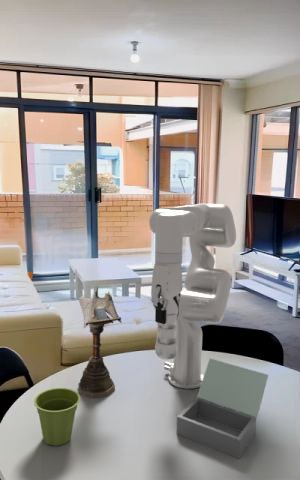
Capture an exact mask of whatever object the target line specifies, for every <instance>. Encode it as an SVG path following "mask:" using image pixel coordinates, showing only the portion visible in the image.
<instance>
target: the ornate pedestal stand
mask: <svg viewBox="0 0 300 480" xmlns="http://www.w3.org/2000/svg"><path fill="white" fill-rule="evenodd" d="M78 302H79V305H80V309H81V313H82V315H83V329H85V328H87V326H88V327H89V333H91V334H92V344H91V346H92V355H91V357H89V358H88V363H87V365H86V367H85V368H84V370H83V371H82V376H81V378H80V381H79V382H78V390H79V393H80V394H79V395H82V396H85V397H88V398H90V399H96V398H103V397H108V396H109V395H111V394H112V393H113V392H114V391H115V390H116V384H115V383H114V381H113V379H112V378H111V375H110V372H109V369H108V368H107V366H106V364H105V362H104V357H103V356H102V355H101V349H100V348H101V346H102V344H101V335H102V333H103V332H104V326H105V325H110V324H113V323H114V322H116V321H118V322H119V323H121V324H122V317H120V316H119V315H118V313H117V310H116V306H115V304H114V300H113V297H112V294H111V293H110V291H108V293H107V292H105V293H104V296H103V297H100V296H99V286H98V284H96V285H95V286H93V293H92V297H91V298H87V297H86V295H80V296H79V297H78Z"/></svg>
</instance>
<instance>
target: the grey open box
mask: <svg viewBox="0 0 300 480" xmlns="http://www.w3.org/2000/svg"><path fill="white" fill-rule="evenodd" d="M198 417H200V418H203V419H206V420H208V421H212V422H214V423H217V424H219V425H222V426H224V427H228V428H230V429H233V430H235V431H238V432H240V433H239V434H238V436H236V435H233V434H231V433H228V432H225V431H223V430H220V429H217V428H215V427H212V426H209V425H207V424H204V423H201V422H198V421H196V419H197V418H198ZM256 425H257V418H256V417H253V416H250V415H247V414H244V413H241V412H238V411H235V410H232V409H230V408H227V407H224V406H221V405H218V404H215V403H212V402H209V401H206V400H203V399H200V398H198V397H196V398H195V399H194V400H193V401H191V403H190V404H189V405H188V406H186V408H184V410H182V411H181V412H180V413H179V414H178V415H177V417H176V434H177V435H180V436H182V437H185V438H188V439H190V440H192V441H194V442H197V443H200V444H201V445H205V446H207V447H209V448H212V449H215V450H216V451H219V452H222V453H224V454H226V455H229V456H231V457H234V458H236V459H240V458H241V457H242V455H243V454H244V452H245V451H246V449H247V448H248V446H249V445H250V443H251V442H252V440H253V439H254V437H255V436H256V429H257V426H256Z"/></svg>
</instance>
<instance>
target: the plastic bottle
mask: <svg viewBox="0 0 300 480" xmlns="http://www.w3.org/2000/svg"><path fill="white" fill-rule="evenodd" d="M160 298H163V296H160ZM173 298H174V297H172V298H170V299H168V300H167V302H166V307H165V310H166V324H161V323H157V322H156V325H157V333H156V341H155V346H154V350H155V354H156V357H158V358H159V359H162V360H173V358H174V357H175V356H176V355H177V350H178V348H177V342H176V321H177V315H178V306H177V304H176V302H175V301H174V299H173ZM160 303H161V304H162V303H163V301H160Z"/></svg>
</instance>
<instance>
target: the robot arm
mask: <svg viewBox="0 0 300 480" xmlns="http://www.w3.org/2000/svg"><path fill="white" fill-rule="evenodd" d="M148 222H149V223H148V224H149V229H150V230H151V232H152V233H153V234H155V245H154V247H155V248H154V250H155V251H154V253H155V254H154V255H155V257H154V265H153V269H152V278H151V289H150V295H151V296H150V297H151V298H150V301H151V303H152V304H153V305H152V306H153V307H154V309H155V317H154V318H155V319H154V321H155V322H156V324H157V323H161V324H166V310H165V307H166V302H167V300H168V299H170V298H172V297H174V298H173V299H174V301H175V302H176V304H177V306H178V315H177V321H176V342H177V348H178V350H177V355H176V356H175V357H174V358H173V359H172V360H173V363H172V362H170V361H168V360H166V361H165V362H164V365H163V370H165V371H169V373H168V377H167V378H168V382H169V383H170V384H171V385H172V386H174V387H176V388H180V389H185V390H192V389H198V388H200V387H201V384H202V381H203V378H204V375H205V374H203V373H201V372H202V353H203V352H202V351H203V348H202V347H203V330H202V328H201V325H200V323H199V322H201V323H207V324H220V323H221V322H222V320H223V319H224V317H225V313H226V309H227V305H228V301H229V295H230V291H231V286H232V279H231V275H230V273H229V272H228V270H225V269H221V268H214V267H215V263H216V261H215V257H214V255H213V254H212V253H211V251H210V250H208V248H207V247H214V248H216V247H217V248H226V249H227V248H231V247H233V246H234V245H235V243H236V239H237V231H236V226H235V220H234V216H233V213H232V210H231V208H230V207H229V206H228V205H227V204H223V203H222V204H221V203H196V204H191V205H180V206H170V207H161V208H156V209H155V210H153V212H152V213H151V214H150V217H149V221H148ZM184 238H189V240H188V242H189V248H190V253H191V259H190V263H189V266H188V269H187V272H186V275H185V277H184V278H185V279H184V286H183V268H182V267H183V266H182V264H183V247H184V246H183V243H184V241H183V239H184ZM183 287H184V288H185V290H183V289H184V288H183ZM161 296H163V298H162V297H161ZM160 301H163V303H162V304H161V303H160Z"/></svg>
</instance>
